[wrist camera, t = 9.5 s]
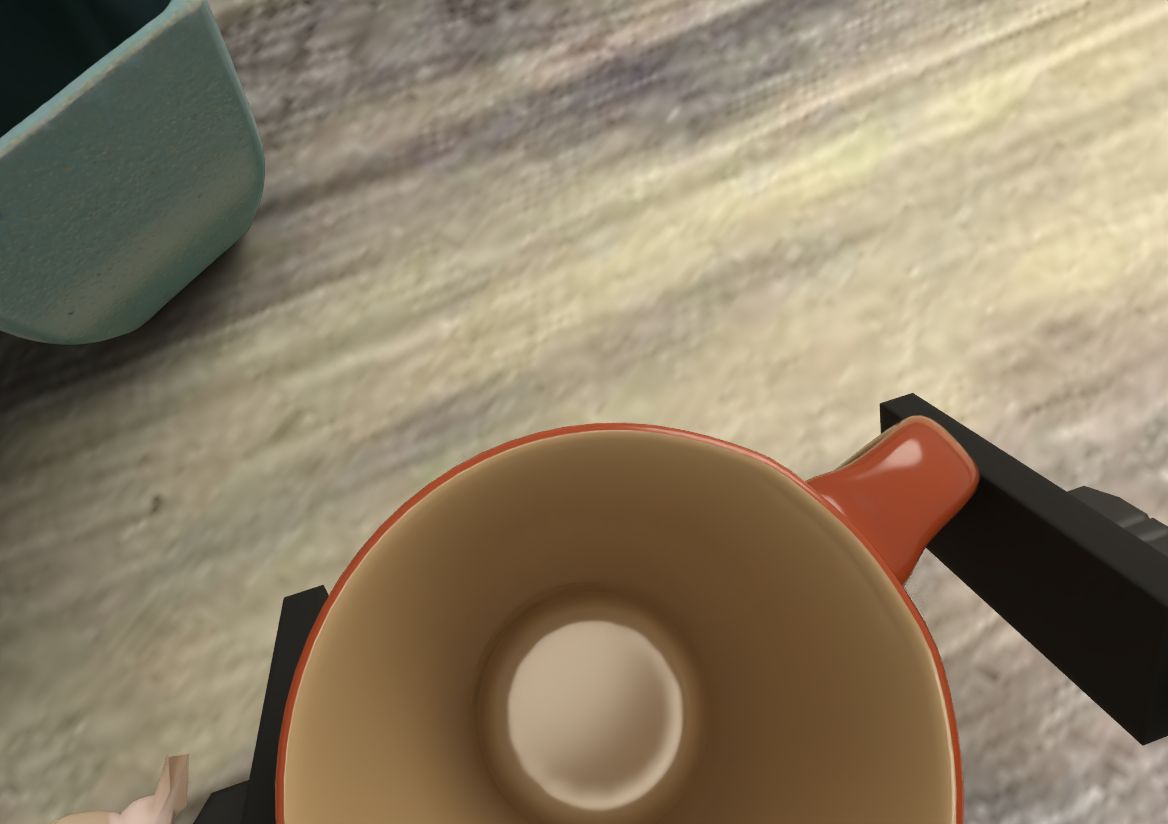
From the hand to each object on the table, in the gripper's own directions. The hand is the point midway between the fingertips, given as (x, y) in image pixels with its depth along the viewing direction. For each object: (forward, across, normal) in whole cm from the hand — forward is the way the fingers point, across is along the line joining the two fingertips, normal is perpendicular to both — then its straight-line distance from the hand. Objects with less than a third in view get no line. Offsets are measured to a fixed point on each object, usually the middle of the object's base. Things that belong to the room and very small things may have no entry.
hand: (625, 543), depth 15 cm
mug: (+2, 0, -6) cm, 6 cm away
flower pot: (+15, -11, +6) cm, 19 cm away
